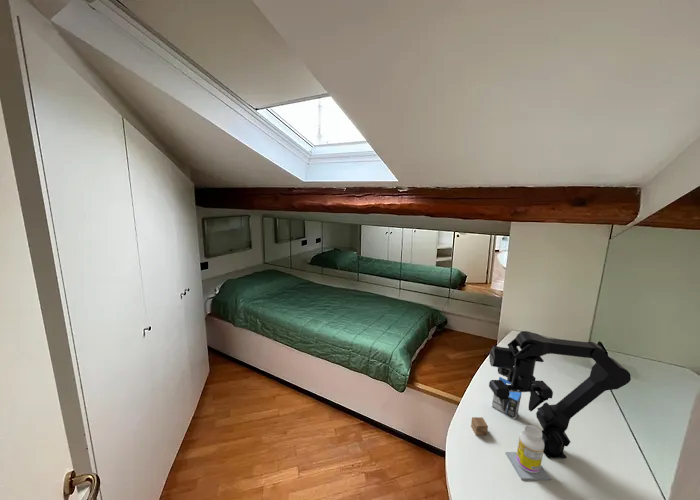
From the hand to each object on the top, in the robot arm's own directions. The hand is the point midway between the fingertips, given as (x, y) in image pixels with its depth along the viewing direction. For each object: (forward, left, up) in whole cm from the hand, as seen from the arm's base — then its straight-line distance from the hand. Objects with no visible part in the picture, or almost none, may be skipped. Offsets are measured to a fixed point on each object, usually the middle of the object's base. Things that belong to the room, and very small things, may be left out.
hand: (516, 410), depth 99 cm
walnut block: (+9, -5, -13) cm, 17 cm away
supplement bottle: (0, +9, -13) cm, 15 cm away
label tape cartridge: (-6, -15, -13) cm, 21 cm away
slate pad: (0, +9, -13) cm, 16 cm away
